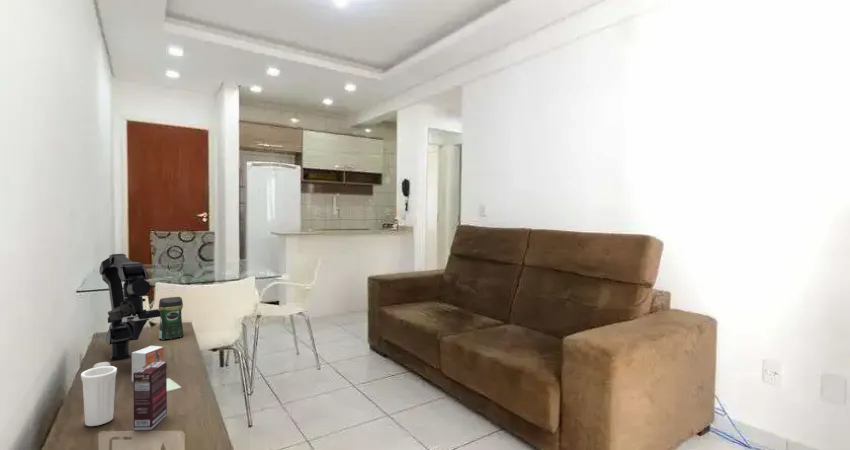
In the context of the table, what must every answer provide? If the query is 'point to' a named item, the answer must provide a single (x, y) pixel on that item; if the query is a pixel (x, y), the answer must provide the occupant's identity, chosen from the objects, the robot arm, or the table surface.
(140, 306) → the robot arm
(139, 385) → the supplement box
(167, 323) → the coffee jar
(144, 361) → the small box
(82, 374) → the cup
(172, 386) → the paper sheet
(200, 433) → the table surface
